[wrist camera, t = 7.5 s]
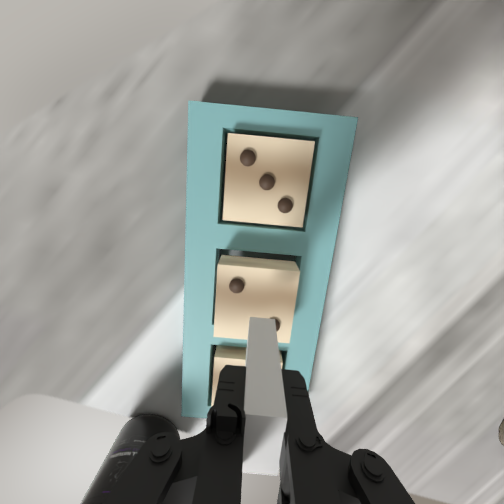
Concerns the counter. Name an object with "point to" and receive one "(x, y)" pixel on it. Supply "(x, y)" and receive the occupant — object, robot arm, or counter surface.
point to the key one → (228, 362)
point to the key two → (254, 295)
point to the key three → (267, 179)
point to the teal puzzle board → (257, 232)
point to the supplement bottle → (125, 453)
